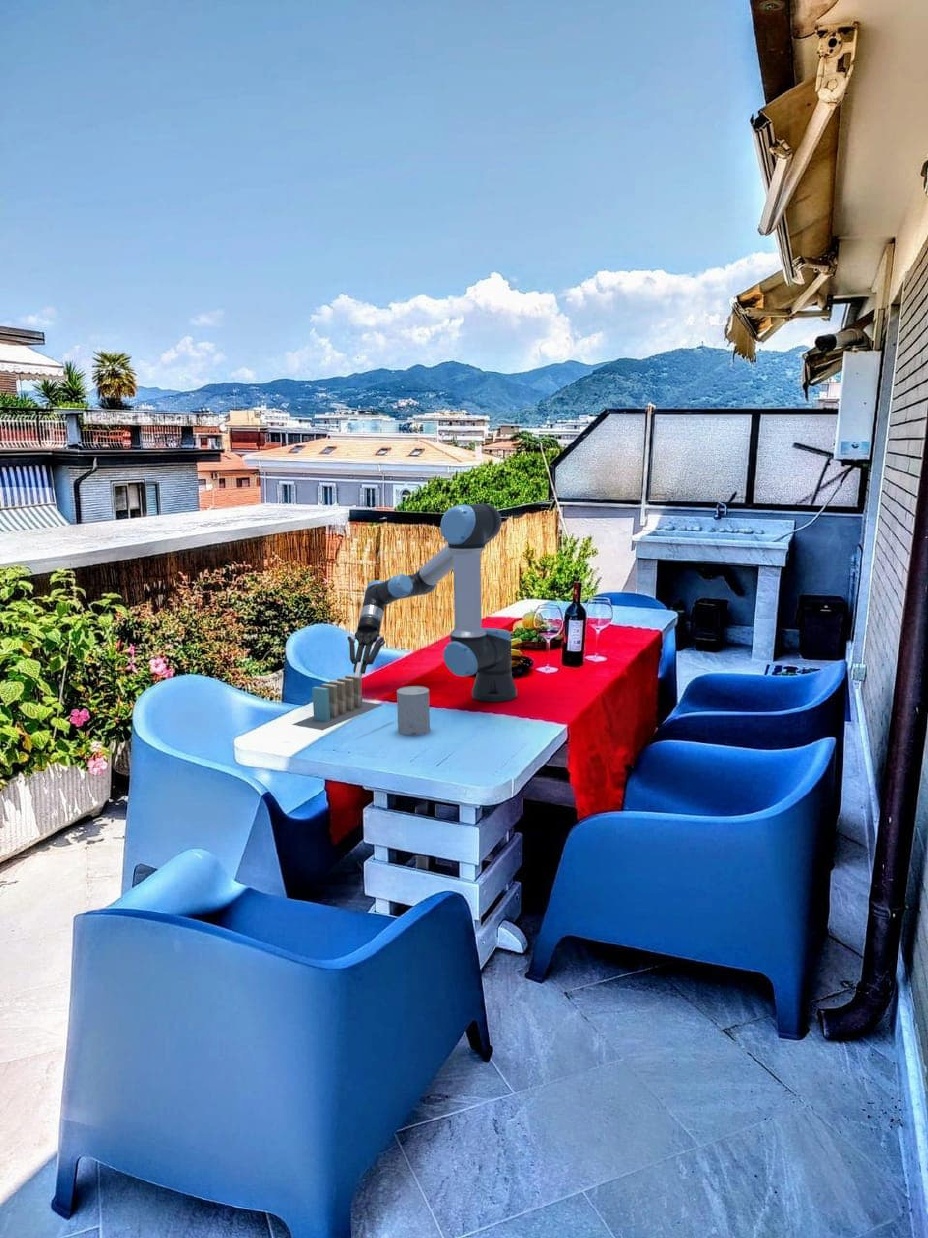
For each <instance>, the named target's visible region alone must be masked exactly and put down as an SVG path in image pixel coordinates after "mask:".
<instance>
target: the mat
mask: <svg viewBox="0 0 928 1238" xmlns="http://www.w3.org/2000/svg"><path fill="white" fill-rule="evenodd" d="M381 706H383V704H380V703H377V702H376V703H375V702H374V703H373V702H370V701H369V702H368V701H363V700H362V707H361V708H355V707H354V710H353V711H346V714H344V715H342V714H338V717H336V718H332V717H330V720H329V721H327V722H326V721H321V720H315V719H314V715H312V716H310V717H306V718H305V719H302V720H299V721H297V722H294V723H293V724H291V725H292V726H297V727H303V728H309V729H313V730H319V731H324V730H327V729H329V728H331V727H334V726H336V725H339V724H341V723H343V722H345V721H348V720H351V719H354V718H356V717H357V716H360V715H362V714H364V713H366V712H369V711H370V712H371V711H372V710H374V709H377V708H379V707H381Z"/></svg>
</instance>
